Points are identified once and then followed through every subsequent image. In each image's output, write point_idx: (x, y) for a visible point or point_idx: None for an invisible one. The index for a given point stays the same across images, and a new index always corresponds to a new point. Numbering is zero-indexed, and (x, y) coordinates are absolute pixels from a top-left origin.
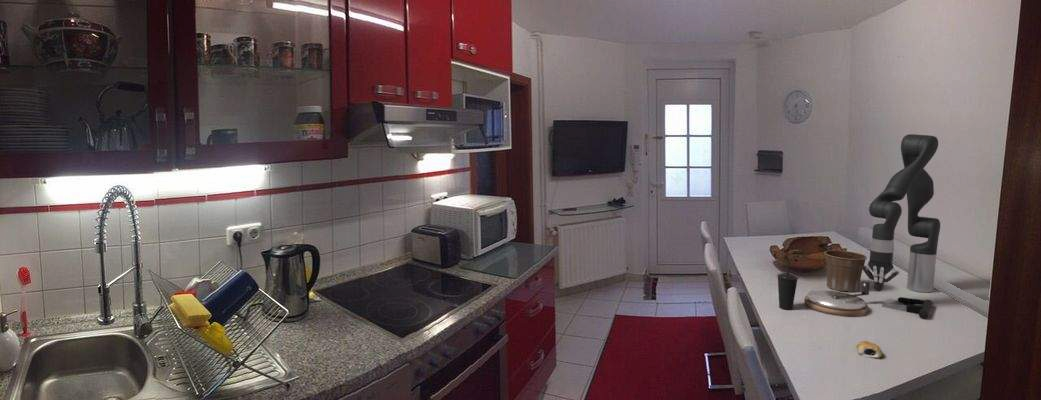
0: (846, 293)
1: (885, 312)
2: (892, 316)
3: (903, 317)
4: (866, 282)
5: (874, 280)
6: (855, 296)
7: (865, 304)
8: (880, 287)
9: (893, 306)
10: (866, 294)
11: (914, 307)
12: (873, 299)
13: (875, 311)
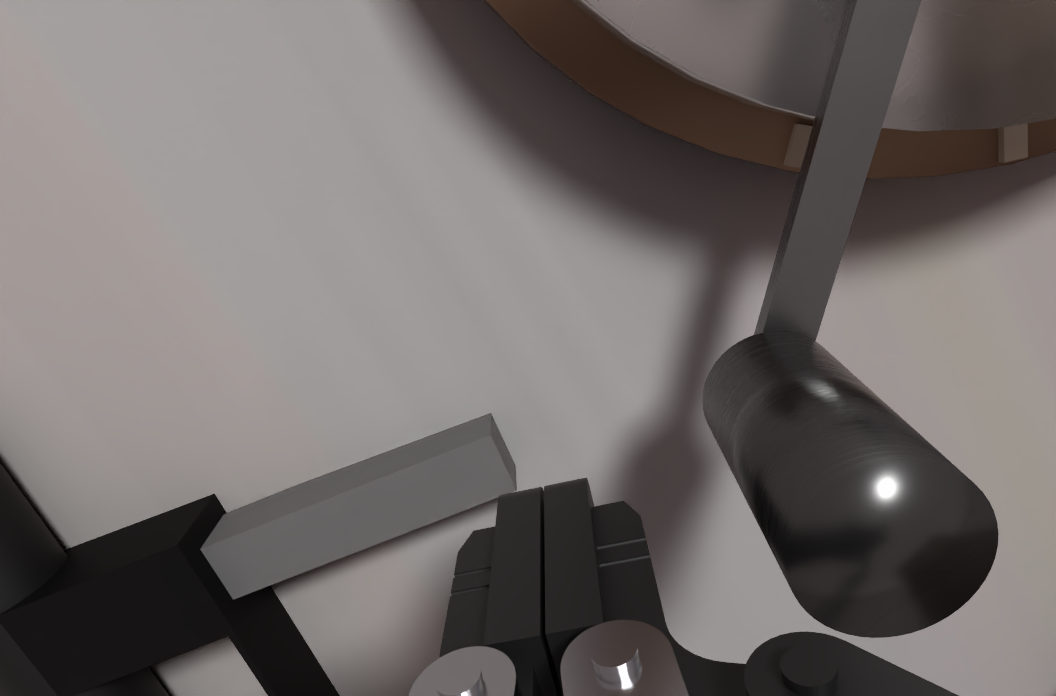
0: (1050, 109)
1: (300, 200)
2: (124, 105)
3: (44, 221)
4: (868, 541)
5: (657, 652)
6: (816, 76)
7: (540, 25)
8: (489, 572)
9: (354, 479)
10: (720, 357)
11: (87, 577)
12: (745, 614)
13: (394, 94)
